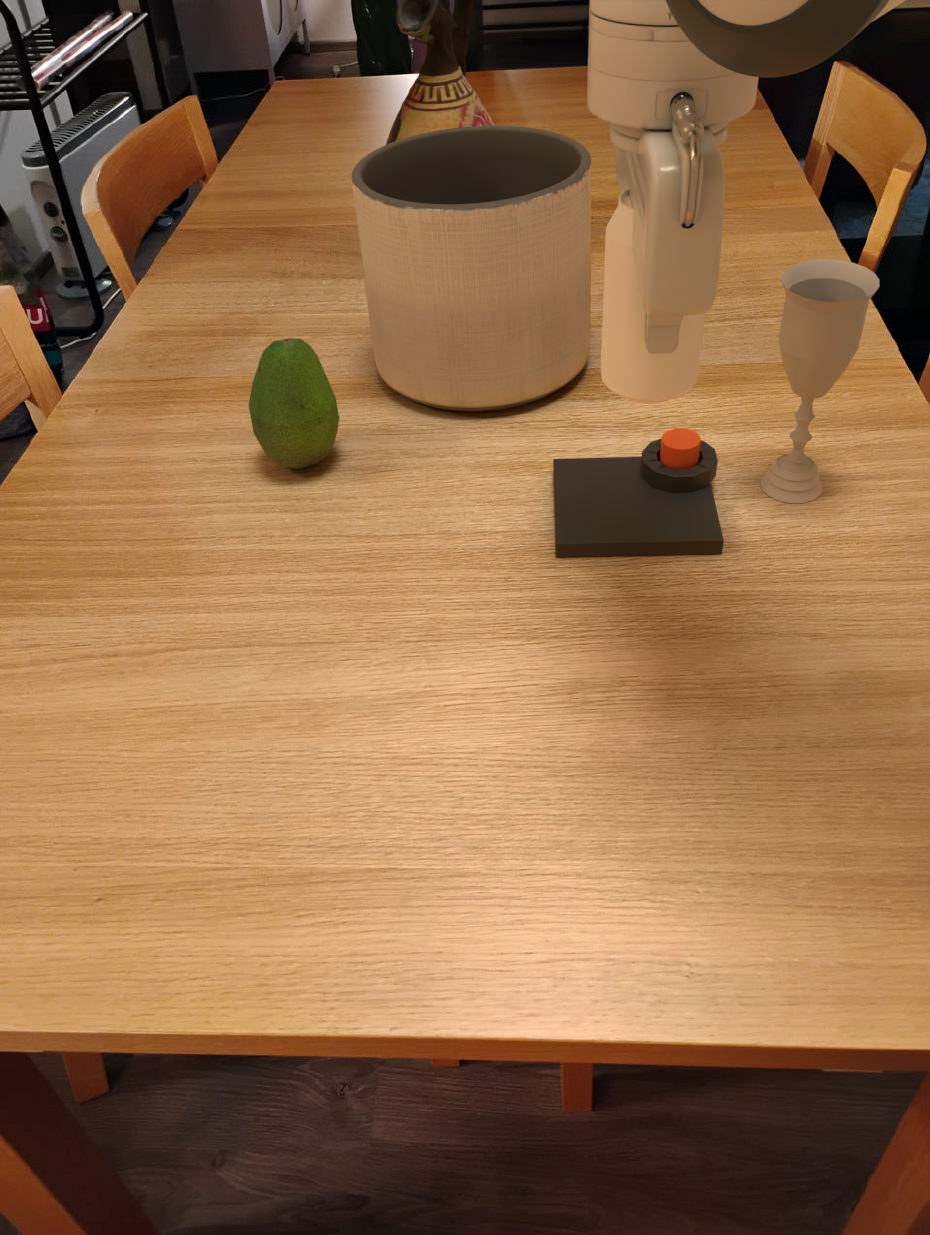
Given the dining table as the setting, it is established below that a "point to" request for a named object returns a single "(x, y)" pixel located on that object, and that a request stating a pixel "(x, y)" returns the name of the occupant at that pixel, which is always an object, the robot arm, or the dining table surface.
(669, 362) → the beverage can
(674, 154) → the robot arm
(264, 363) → the avocado
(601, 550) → the scale
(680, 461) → the button
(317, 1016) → the dining table surface
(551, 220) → the planter
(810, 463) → the chalice
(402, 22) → the ceramic jug
